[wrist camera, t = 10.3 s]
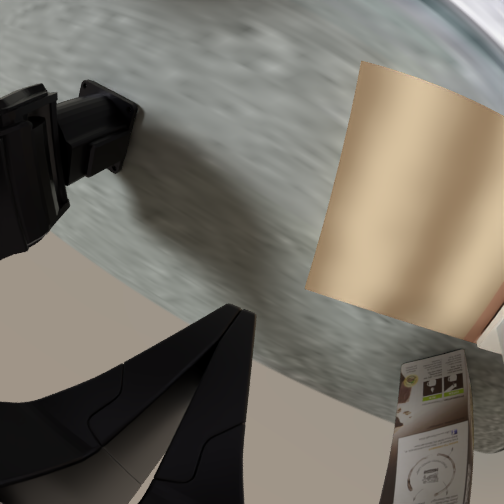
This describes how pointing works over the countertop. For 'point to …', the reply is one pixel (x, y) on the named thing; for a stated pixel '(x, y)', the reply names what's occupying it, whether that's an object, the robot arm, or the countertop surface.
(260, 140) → the countertop surface
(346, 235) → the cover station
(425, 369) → the coffee box
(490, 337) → the white l-shaped piece
